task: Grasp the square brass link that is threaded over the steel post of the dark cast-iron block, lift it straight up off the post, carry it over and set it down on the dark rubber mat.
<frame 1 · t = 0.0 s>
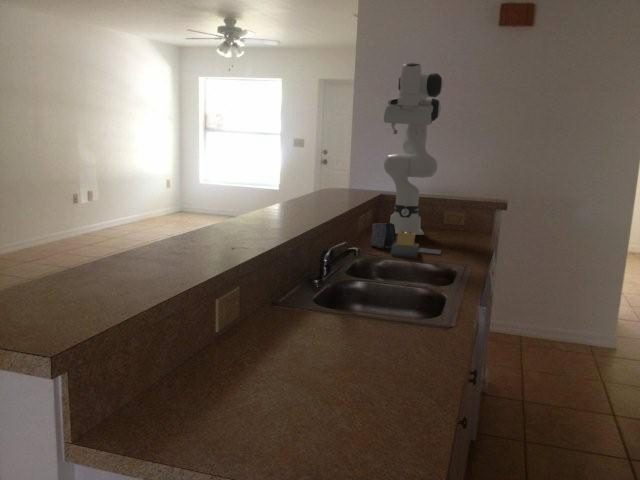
hand: (406, 134, 247), 48 cm above the worktop, fingers open, 8 cm apart
post block: (404, 254, 232), on the worktop
stone: (381, 247, 245), on the worktop
mat: (429, 252, 239), on the worktop
ring: (405, 244, 231), point 4 cm above the worktop, touching post block
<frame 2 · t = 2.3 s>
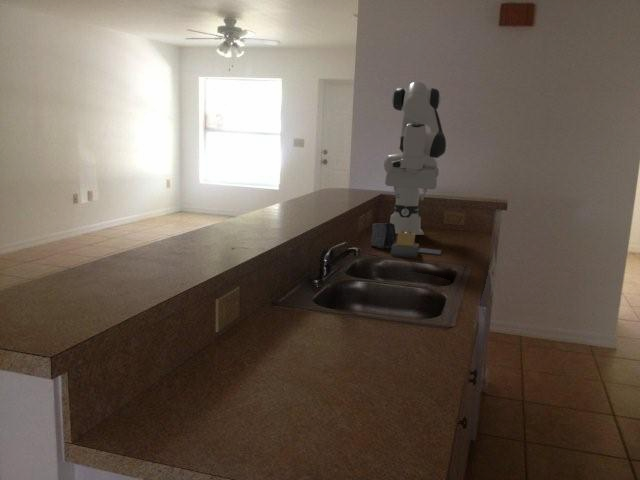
hand: (409, 199, 228), 23 cm above the worktop, fingers open, 8 cm apart
nothing on the worktop moved.
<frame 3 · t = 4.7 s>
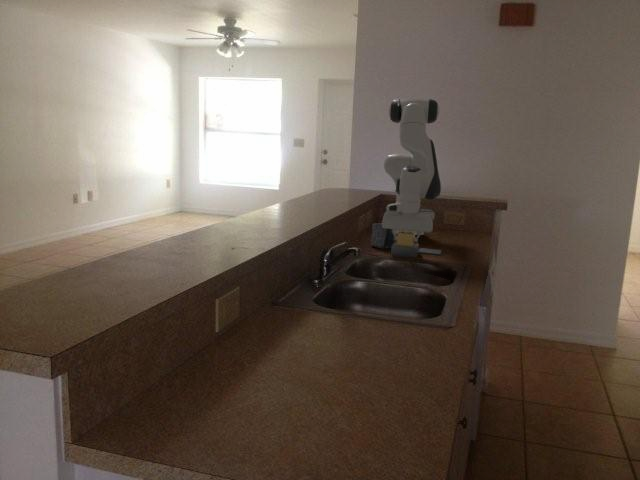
hand: (405, 241, 231), 5 cm above the worktop, fingers closed on ring, 6 cm apart
ring: (405, 244, 231), point 4 cm above the worktop, touching gripper, post block
everything else where it was.
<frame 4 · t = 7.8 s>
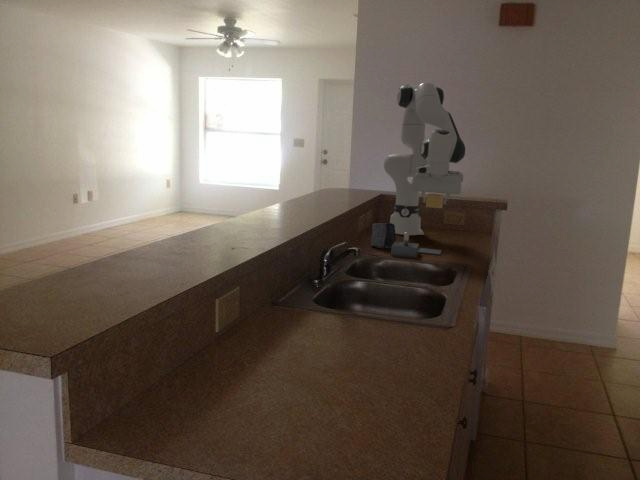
hand: (434, 203, 236), 21 cm above the worktop, fingers closed on ring, 6 cm apart
ring: (434, 206, 236), point 19 cm above the worktop, touching gripper
everything else where it was.
when the fingers open (4 cm above the worktop, at t = 11.3 s): ring drops 2 cm, resting on mat.
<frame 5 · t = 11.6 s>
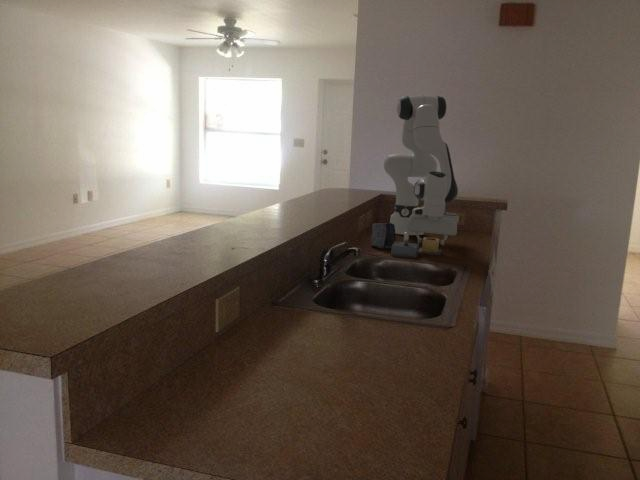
hand: (430, 243, 239), 4 cm above the worktop, fingers open, 8 cm apart
ring: (429, 250, 239), point 1 cm above the worktop, touching mat
everything else where it was.
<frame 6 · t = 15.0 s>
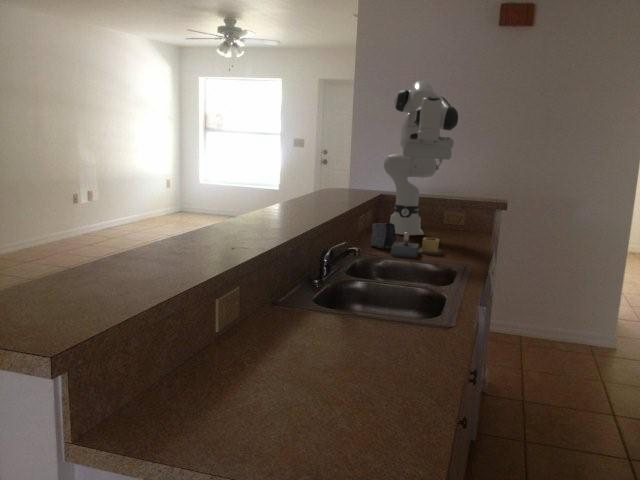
hand: (425, 169, 243), 34 cm above the worktop, fingers open, 8 cm apart
nothing on the worktop moved.
at the end: ring inside the target area on the mat (0.1 cm from its centre), point 0.6 cm above the mat's base; ring touching mat; the gripper is holding nothing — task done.
